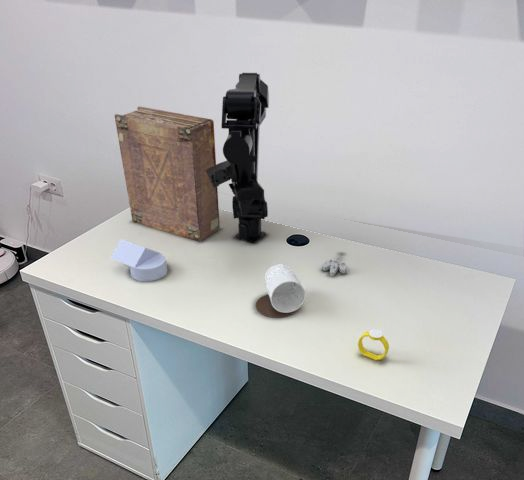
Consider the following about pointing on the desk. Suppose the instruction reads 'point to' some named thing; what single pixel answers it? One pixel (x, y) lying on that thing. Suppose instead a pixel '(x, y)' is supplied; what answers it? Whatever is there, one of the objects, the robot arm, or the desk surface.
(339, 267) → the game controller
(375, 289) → the desk surface
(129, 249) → the wedge on round base
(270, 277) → the white cup
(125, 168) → the book
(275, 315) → the coaster
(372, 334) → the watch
